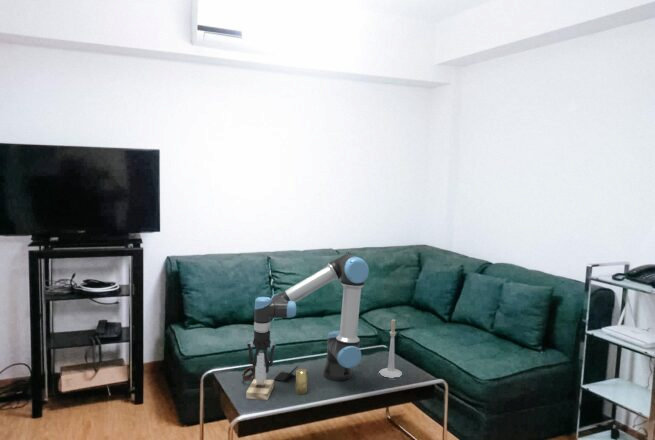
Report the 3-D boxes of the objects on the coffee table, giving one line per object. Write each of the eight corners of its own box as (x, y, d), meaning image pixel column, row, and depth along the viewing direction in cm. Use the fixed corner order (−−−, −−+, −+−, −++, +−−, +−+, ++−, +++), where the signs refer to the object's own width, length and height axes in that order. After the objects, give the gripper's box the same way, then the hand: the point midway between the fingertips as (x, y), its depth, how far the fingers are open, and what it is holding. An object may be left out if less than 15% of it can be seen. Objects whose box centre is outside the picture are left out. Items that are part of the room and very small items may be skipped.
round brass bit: (307, 389, 243) (308, 369, 243) (306, 394, 238) (306, 373, 237) (296, 388, 244) (297, 368, 243) (294, 393, 238) (295, 372, 238)
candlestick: (373, 373, 267) (376, 318, 265) (389, 368, 275) (392, 314, 273) (392, 381, 257) (394, 323, 255) (408, 375, 266) (410, 319, 263)
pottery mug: (263, 386, 246) (255, 373, 244) (246, 393, 248) (238, 380, 246) (266, 371, 258) (259, 359, 255) (250, 377, 259) (242, 365, 257)
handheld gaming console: (277, 369, 263) (288, 357, 261) (288, 378, 263) (299, 365, 261) (271, 381, 252) (283, 368, 249) (283, 390, 252) (295, 377, 250)
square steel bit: (264, 381, 240) (265, 353, 238) (263, 384, 236) (264, 355, 235) (257, 381, 240) (258, 352, 239) (256, 384, 236) (257, 355, 235)
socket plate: (273, 386, 246) (274, 380, 246) (267, 400, 230) (267, 393, 230) (253, 384, 247) (254, 378, 247) (246, 398, 231) (246, 392, 231)
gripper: (280, 329, 239) (279, 376, 241) (246, 327, 240) (245, 374, 242) (278, 333, 232) (276, 383, 234) (242, 331, 233) (241, 380, 235)
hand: (260, 378), depth 238 cm, fingers closed on square steel bit, 3 cm apart
